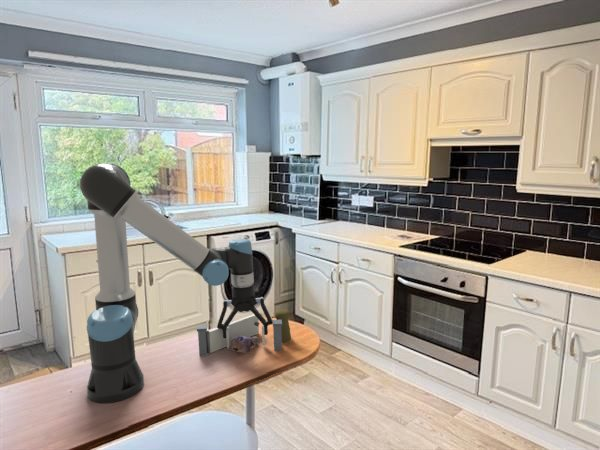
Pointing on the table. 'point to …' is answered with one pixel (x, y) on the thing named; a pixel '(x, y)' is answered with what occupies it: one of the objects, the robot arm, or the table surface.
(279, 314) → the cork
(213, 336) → the gate
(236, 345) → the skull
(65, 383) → the table surface
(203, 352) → the hinge post
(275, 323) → the post
